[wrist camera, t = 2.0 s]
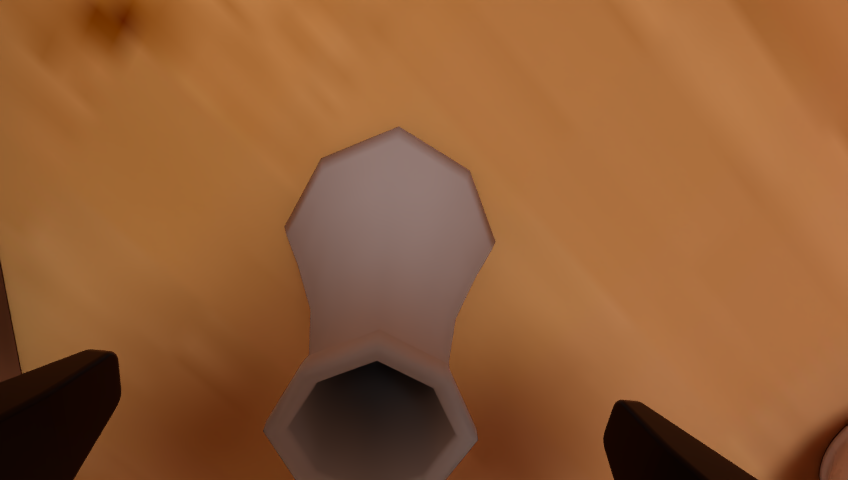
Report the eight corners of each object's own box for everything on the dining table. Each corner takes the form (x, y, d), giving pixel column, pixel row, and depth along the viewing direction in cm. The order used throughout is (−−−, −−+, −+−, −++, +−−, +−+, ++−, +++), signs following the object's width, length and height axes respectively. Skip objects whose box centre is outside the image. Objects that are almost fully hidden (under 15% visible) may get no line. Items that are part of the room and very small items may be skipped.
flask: (250, 221, 16) (29, 422, 7) (401, 86, 15) (393, 97, 5) (383, 350, 18) (359, 643, 9) (527, 241, 17) (683, 450, 7)
